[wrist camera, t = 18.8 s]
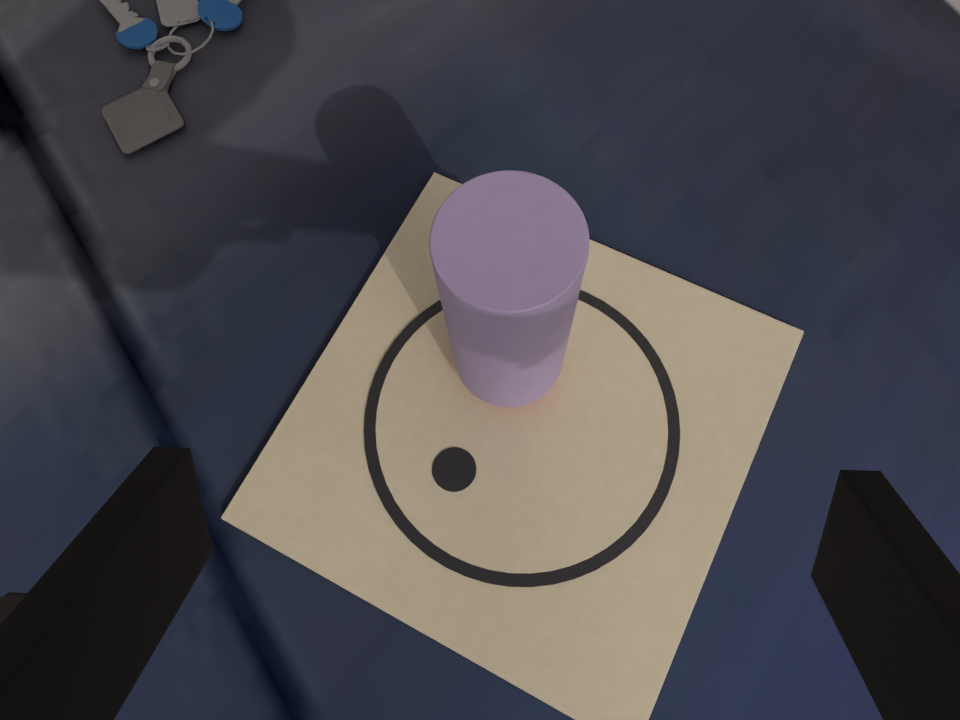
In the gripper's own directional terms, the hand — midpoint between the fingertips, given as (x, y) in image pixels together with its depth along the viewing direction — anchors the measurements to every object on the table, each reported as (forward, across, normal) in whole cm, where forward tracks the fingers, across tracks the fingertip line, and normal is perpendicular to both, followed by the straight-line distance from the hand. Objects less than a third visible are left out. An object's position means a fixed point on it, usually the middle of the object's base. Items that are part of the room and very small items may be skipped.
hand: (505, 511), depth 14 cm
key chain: (+28, -19, +8) cm, 34 cm away
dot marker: (+15, 0, -4) cm, 15 cm away
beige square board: (+13, 0, -6) cm, 15 cm away
